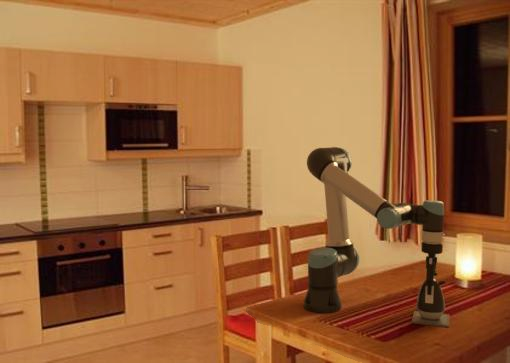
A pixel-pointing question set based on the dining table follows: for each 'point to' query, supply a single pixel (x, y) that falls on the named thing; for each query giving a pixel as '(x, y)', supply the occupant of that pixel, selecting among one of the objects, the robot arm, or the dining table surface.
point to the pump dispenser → (430, 309)
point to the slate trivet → (438, 322)
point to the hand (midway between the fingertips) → (430, 297)
